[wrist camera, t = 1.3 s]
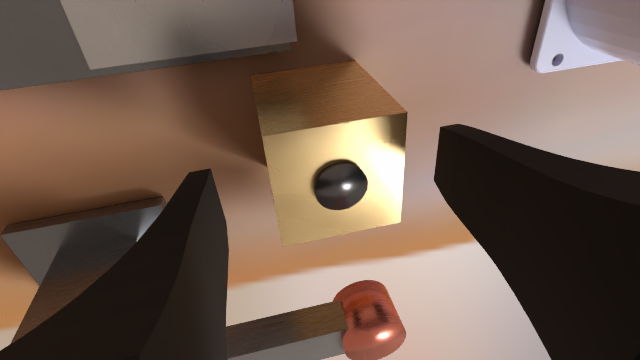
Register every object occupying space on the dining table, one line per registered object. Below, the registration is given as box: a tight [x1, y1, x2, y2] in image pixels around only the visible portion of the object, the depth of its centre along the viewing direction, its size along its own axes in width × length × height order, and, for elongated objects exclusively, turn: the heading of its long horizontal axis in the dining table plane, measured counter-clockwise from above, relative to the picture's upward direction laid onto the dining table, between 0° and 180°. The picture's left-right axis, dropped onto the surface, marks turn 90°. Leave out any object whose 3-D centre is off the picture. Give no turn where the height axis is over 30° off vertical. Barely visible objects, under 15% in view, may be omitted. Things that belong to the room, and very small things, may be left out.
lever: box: [226, 280, 406, 360], centre depth 13 cm, size 13×3×2 cm, turn 95°
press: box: [0, 0, 297, 344], centre depth 12 cm, size 12×18×5 cm, turn 5°
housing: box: [250, 60, 407, 247], centre depth 13 cm, size 4×4×5 cm
